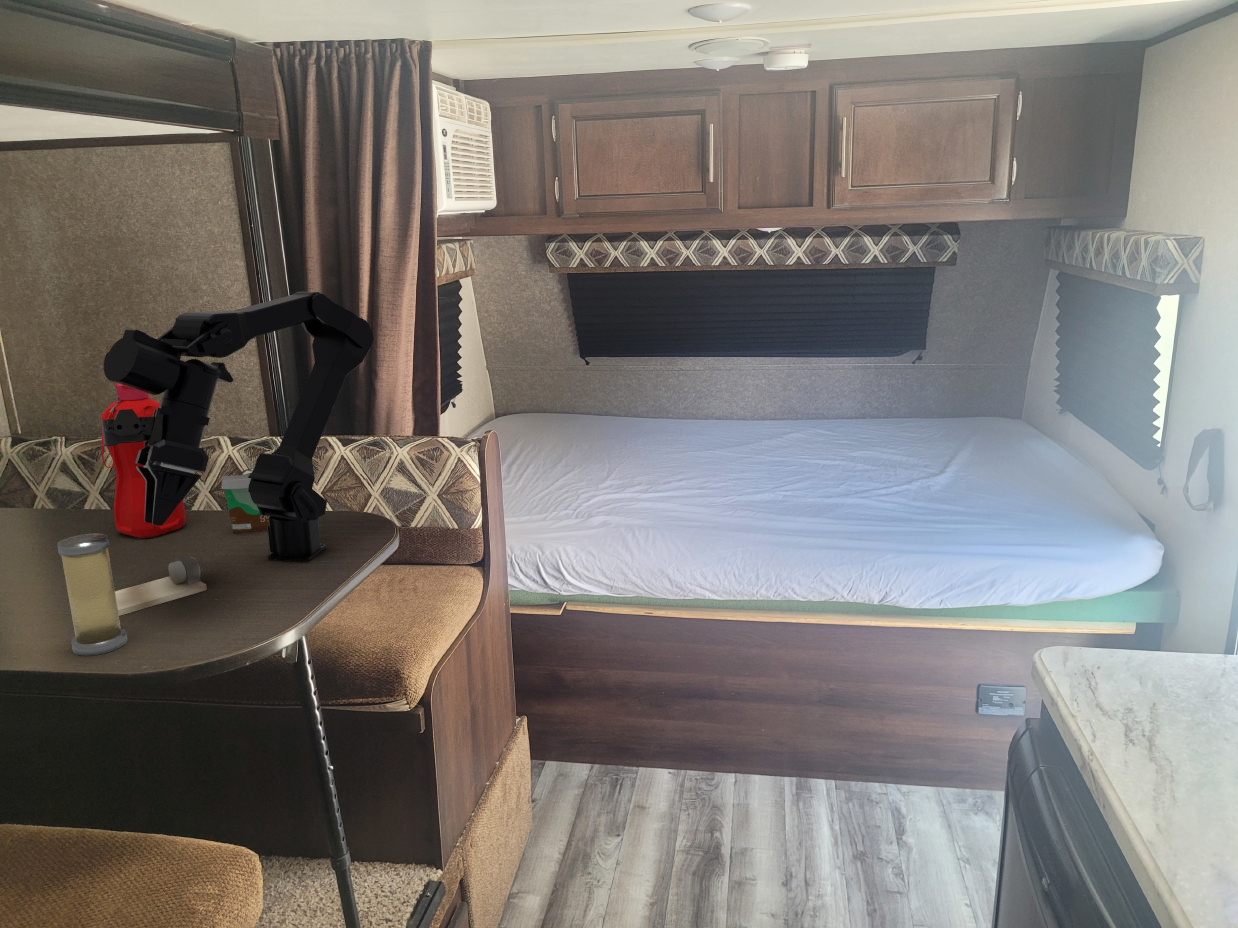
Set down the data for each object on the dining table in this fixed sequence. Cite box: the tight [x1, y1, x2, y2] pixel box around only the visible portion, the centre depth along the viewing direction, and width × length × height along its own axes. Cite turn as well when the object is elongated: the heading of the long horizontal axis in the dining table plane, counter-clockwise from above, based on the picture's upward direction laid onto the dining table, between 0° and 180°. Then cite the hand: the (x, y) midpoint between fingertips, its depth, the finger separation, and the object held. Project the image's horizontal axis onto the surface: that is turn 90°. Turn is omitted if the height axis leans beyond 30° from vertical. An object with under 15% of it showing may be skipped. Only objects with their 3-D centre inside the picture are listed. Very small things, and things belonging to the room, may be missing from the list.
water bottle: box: [99, 383, 187, 539], centre depth 141 cm, size 9×11×25 cm
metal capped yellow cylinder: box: [56, 532, 128, 657], centre depth 102 cm, size 6×6×13 cm
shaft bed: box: [115, 554, 208, 617], centre depth 116 cm, size 15×7×4 cm, turn 139°
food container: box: [221, 467, 270, 535], centre depth 146 cm, size 12×6×10 cm, turn 170°
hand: (152, 523), depth 111 cm, fingers open, 9 cm apart
